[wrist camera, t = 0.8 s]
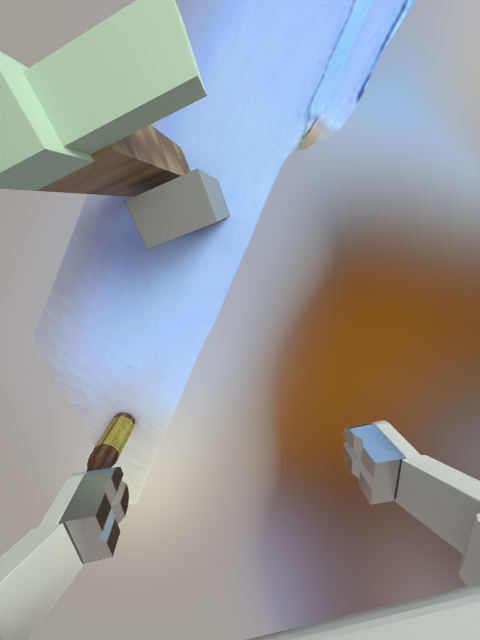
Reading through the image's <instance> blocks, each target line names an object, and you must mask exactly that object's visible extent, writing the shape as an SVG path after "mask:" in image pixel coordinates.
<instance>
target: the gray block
mask: <svg viewBox="0 0 480 640" xmlns="http://www.w3.org/2000/svg"><path fill="white" fill-rule="evenodd" d="M124 203H125V205H126V207H127V209H128V211H129V213H130V215H131V217H132V219H133V221H134V223H135V225H136V227H137V229H138V231H139V233H140V235H141V237H142V239H143V241H144V243H145V245H146V247H147V249H149V248H152V247H154V246H157V245H160V244H162V243H165V242H167V241H170V240H172V239H175V238H177V237H180V236H183V235H185V234H188V233H190V232H193V231H195V230H198V229H201V228H203V227H206V226H208V225H211V224H213V223H216V222H218V221H220V220H223V219H225V218H227V217H229V216H230V214H229V212H228V209H227V206H226V203H225V200H224V197H223V194H222V191H221V188H220V185H219V183H218V180H216V179H214V178H213V177H211V176H209V175H208V174H206V173H204V172H203V171H201V170H199V169H196V170H193V171H191V172H189V173H187V174H184V175H182V176H180V177H178V178H175V179H173V180H171V181H169V182H166V183H164V184H162V185H160V186H157V187H155V188H153V189H151V190H148V191H146V192H144V193H142V194H139V195H137V196H135V197H133V198H130V199H128V200H126V201H124Z"/></svg>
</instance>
